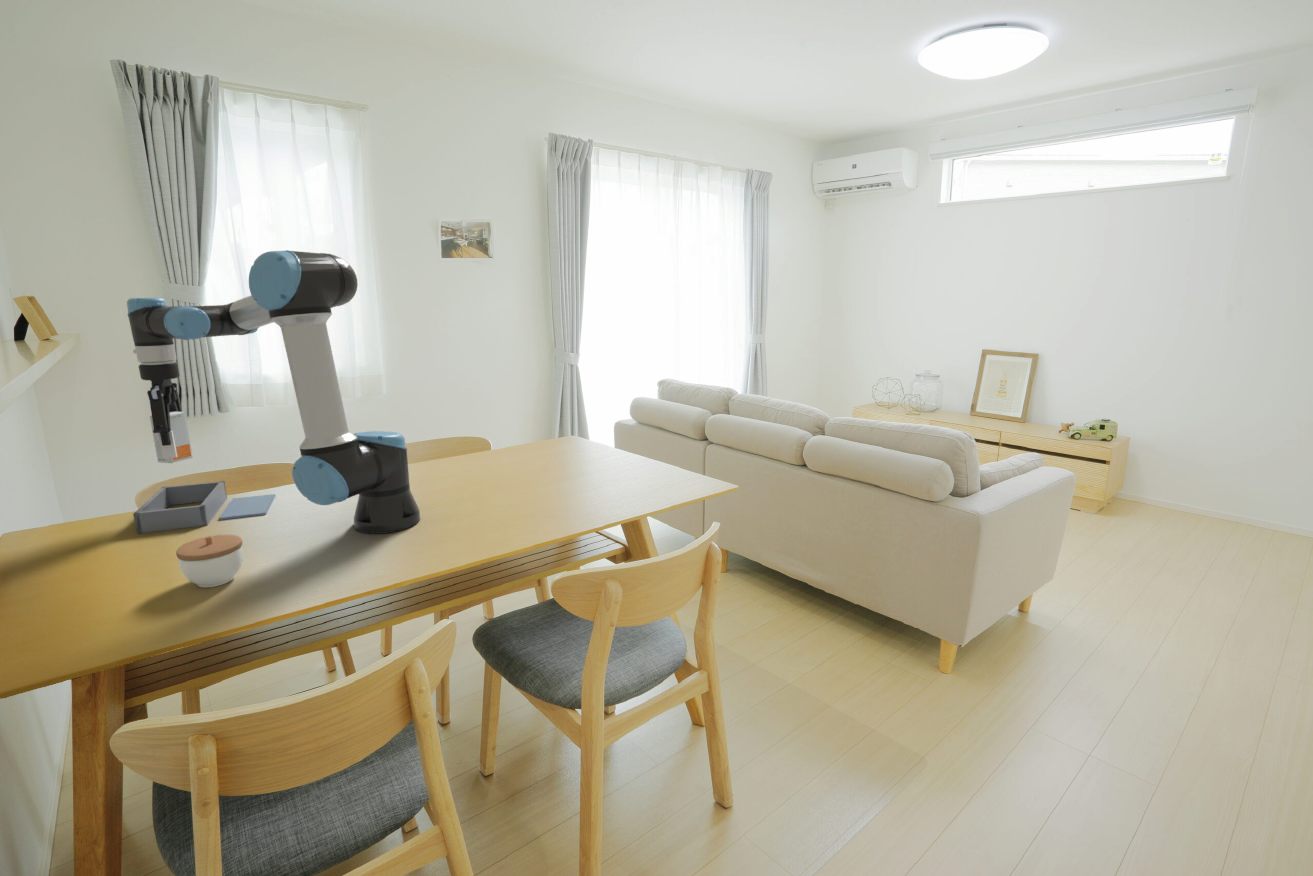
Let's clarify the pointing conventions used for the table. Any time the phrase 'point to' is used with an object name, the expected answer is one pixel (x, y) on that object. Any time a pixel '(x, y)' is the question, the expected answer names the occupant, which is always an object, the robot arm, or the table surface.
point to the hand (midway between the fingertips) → (174, 453)
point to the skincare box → (175, 438)
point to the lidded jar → (211, 559)
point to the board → (248, 506)
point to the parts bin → (160, 518)
